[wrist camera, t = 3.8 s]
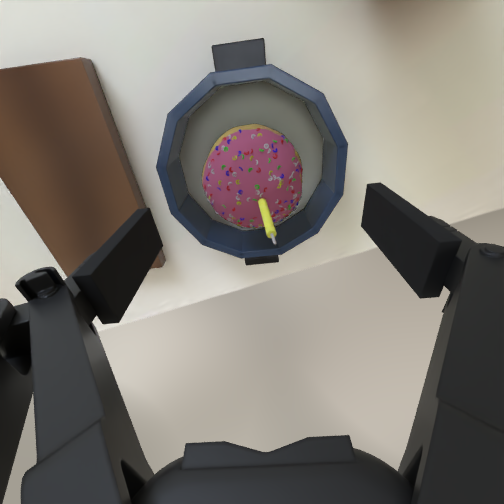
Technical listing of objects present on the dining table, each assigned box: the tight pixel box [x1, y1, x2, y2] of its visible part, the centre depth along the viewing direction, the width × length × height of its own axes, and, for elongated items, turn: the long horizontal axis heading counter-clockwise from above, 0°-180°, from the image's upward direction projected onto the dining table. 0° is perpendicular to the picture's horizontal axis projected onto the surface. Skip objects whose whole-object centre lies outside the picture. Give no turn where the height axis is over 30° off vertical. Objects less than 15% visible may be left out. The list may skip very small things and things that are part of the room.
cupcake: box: [202, 124, 302, 244], centre depth 20 cm, size 9×8×12 cm
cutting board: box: [0, 57, 166, 277], centre depth 25 cm, size 12×20×2 cm, turn 6°
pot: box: [156, 38, 348, 265], centre depth 23 cm, size 16×19×4 cm
